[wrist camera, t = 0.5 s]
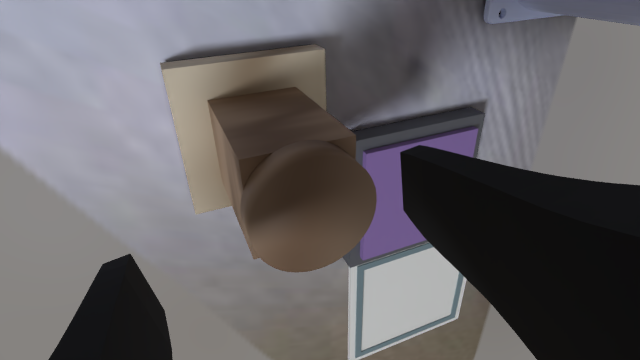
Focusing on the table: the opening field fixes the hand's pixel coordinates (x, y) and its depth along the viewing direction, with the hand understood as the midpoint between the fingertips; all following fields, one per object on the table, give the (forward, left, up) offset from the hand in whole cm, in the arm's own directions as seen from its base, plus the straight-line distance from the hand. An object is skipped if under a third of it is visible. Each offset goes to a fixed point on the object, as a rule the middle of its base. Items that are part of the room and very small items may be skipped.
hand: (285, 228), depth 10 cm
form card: (-12, +18, -10) cm, 24 cm away
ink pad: (-11, +7, -10) cm, 17 cm away
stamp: (-1, +1, -10) cm, 11 cm away
